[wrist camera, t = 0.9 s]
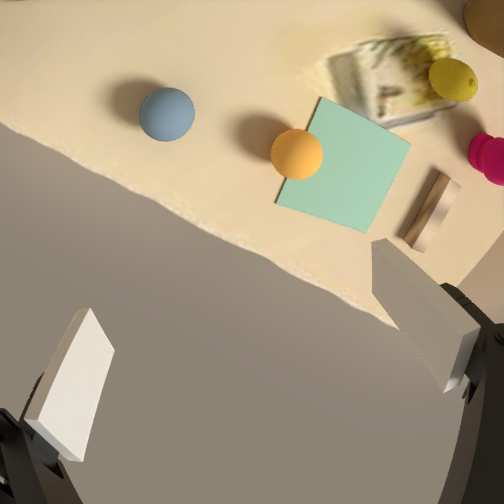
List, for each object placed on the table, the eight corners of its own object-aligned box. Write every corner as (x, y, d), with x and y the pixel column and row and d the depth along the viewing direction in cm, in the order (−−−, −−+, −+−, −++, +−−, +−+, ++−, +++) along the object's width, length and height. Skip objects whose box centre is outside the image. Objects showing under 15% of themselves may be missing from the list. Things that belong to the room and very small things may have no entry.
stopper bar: (415, 244, 44) (423, 253, 42) (403, 239, 43) (411, 248, 41) (451, 179, 38) (461, 186, 36) (440, 172, 38) (450, 178, 35)
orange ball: (271, 120, 32) (283, 129, 27) (318, 130, 33) (336, 141, 28) (262, 166, 35) (271, 183, 30) (307, 173, 36) (322, 191, 31)
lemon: (421, 98, 31) (462, 110, 25) (413, 57, 28) (455, 62, 22) (450, 93, 31) (490, 104, 24) (443, 55, 28) (485, 60, 21)
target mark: (275, 203, 37) (276, 204, 37) (321, 97, 31) (322, 97, 30) (365, 232, 41) (365, 233, 41) (410, 144, 35) (411, 144, 35)
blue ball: (148, 85, 28) (137, 87, 23) (199, 89, 29) (197, 91, 24) (143, 133, 30) (131, 145, 26) (192, 137, 32) (189, 149, 27)
